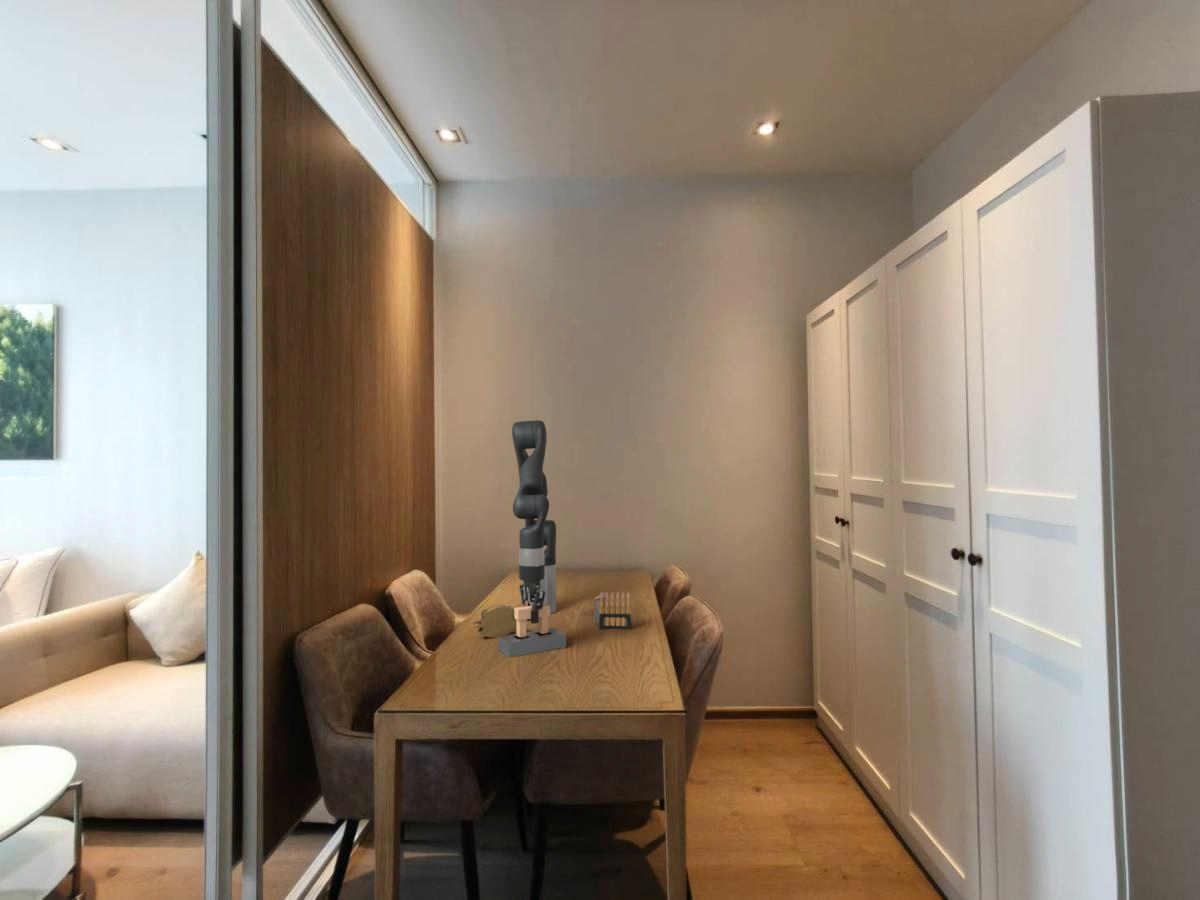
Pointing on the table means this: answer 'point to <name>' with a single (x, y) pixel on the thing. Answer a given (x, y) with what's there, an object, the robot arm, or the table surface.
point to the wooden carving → (497, 621)
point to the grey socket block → (532, 642)
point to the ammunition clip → (621, 613)
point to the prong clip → (525, 613)
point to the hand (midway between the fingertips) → (532, 621)
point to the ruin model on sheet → (596, 606)
